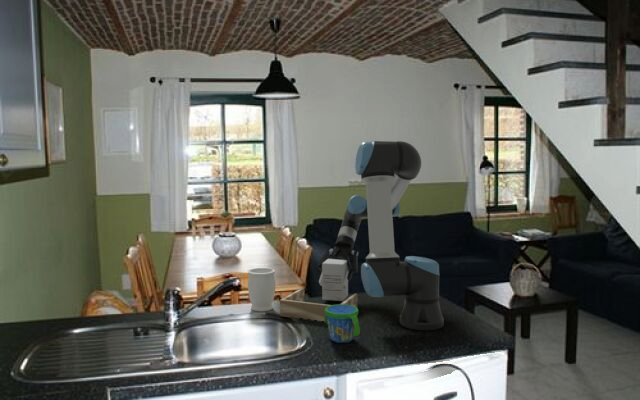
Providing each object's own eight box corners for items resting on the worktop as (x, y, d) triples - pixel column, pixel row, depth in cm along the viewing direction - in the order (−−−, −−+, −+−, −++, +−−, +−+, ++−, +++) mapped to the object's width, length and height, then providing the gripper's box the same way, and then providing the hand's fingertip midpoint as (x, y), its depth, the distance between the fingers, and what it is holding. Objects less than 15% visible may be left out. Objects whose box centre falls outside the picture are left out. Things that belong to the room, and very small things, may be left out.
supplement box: (327, 293, 214) (327, 258, 213) (348, 295, 212) (348, 259, 211) (321, 299, 206) (321, 262, 204) (343, 301, 203) (343, 264, 202)
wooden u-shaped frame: (301, 302, 207) (301, 287, 207) (357, 309, 198) (357, 293, 197) (280, 316, 190) (279, 300, 190) (339, 323, 181) (339, 307, 180)
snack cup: (369, 344, 161) (369, 312, 160) (340, 350, 156) (340, 318, 155) (342, 329, 175) (342, 300, 174) (315, 335, 169) (315, 305, 169)
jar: (243, 311, 196) (242, 272, 195) (254, 303, 206) (254, 266, 205) (269, 313, 193) (268, 274, 192) (279, 306, 203) (279, 268, 201)
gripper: (373, 246, 217) (361, 292, 204) (324, 243, 226) (309, 287, 212) (369, 235, 212) (356, 282, 198) (319, 233, 220) (304, 277, 207)
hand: (332, 285), depth 205 cm, fingers closed on supplement box, 10 cm apart
